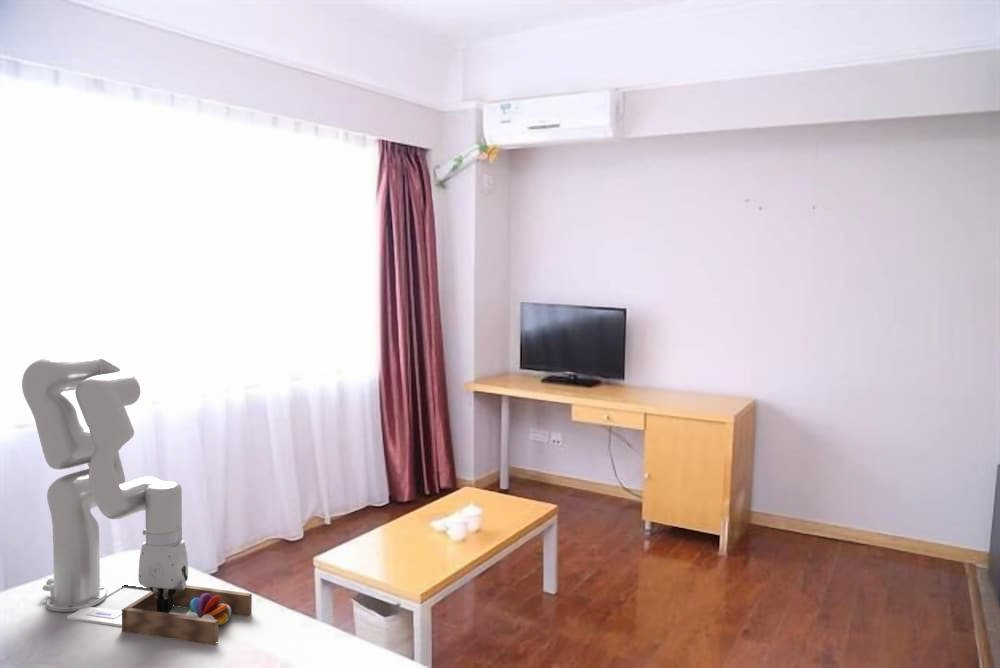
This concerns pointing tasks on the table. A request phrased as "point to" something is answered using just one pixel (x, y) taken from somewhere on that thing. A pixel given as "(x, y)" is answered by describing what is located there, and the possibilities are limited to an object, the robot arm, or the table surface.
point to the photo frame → (100, 613)
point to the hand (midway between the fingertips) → (164, 612)
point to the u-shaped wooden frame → (181, 627)
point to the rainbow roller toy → (209, 608)
